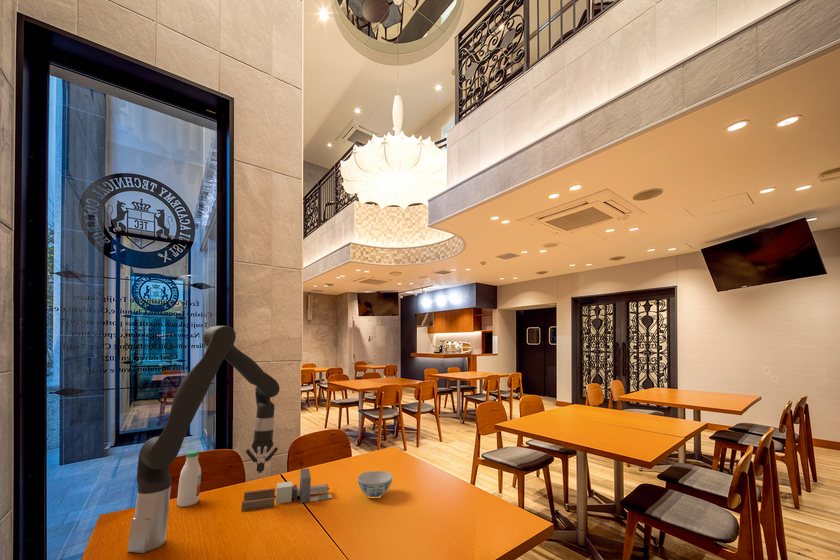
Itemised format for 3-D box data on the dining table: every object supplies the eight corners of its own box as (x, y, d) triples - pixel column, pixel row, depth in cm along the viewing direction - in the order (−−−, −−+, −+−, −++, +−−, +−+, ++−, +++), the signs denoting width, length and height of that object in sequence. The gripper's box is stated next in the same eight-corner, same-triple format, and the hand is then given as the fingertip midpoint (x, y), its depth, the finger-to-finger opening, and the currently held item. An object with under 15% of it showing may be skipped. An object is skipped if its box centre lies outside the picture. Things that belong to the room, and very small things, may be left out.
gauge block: (275, 504, 151) (276, 488, 152) (276, 498, 157) (277, 483, 158) (293, 501, 153) (294, 486, 154) (293, 495, 159) (294, 481, 160)
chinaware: (386, 505, 150) (386, 484, 151) (351, 501, 153) (352, 481, 154) (396, 490, 164) (396, 472, 166) (364, 487, 167) (364, 469, 169)
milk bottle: (191, 507, 148) (196, 454, 151) (172, 507, 148) (177, 454, 151) (202, 499, 155) (207, 449, 158) (184, 499, 155) (189, 448, 159)
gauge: (241, 512, 144) (243, 486, 145) (244, 499, 155) (245, 475, 157) (332, 498, 156) (333, 475, 157) (328, 487, 167) (329, 465, 169)
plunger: (293, 502, 151) (294, 492, 152) (293, 494, 159) (293, 484, 160) (329, 497, 156) (329, 487, 157) (326, 490, 164) (327, 480, 165)
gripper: (246, 431, 151) (241, 476, 148) (280, 429, 155) (277, 473, 152) (247, 427, 158) (243, 470, 155) (280, 425, 162) (277, 468, 159)
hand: (260, 472), depth 153 cm, fingers closed
